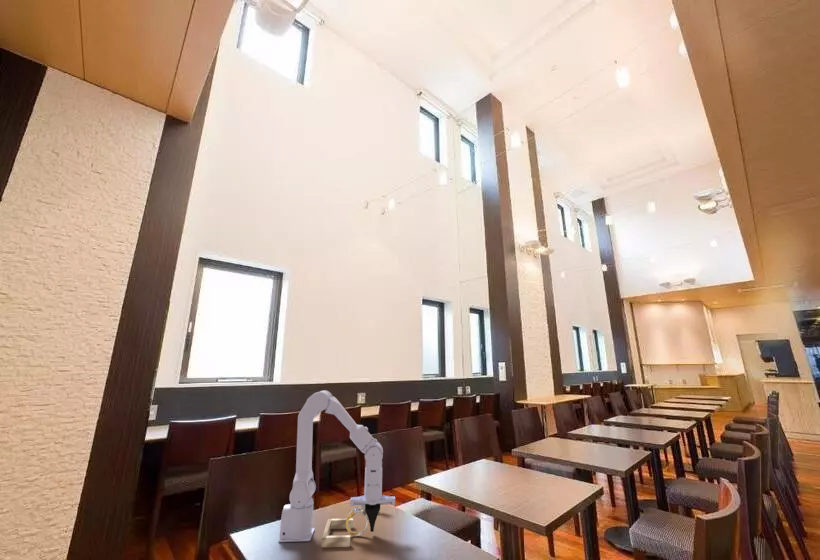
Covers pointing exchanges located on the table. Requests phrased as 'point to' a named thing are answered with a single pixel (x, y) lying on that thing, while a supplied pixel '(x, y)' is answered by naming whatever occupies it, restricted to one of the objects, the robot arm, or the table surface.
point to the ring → (354, 511)
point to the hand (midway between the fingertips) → (371, 530)
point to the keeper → (340, 539)
